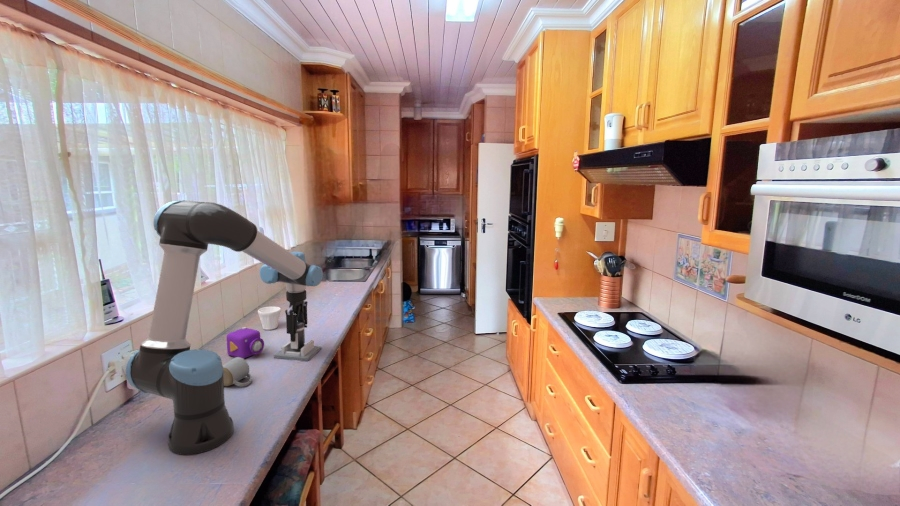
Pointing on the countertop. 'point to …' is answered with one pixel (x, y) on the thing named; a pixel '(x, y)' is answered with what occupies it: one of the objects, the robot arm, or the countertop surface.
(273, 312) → the cup
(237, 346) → the toy camera
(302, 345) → the lens
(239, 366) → the ceramic mug
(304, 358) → the mount
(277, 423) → the countertop surface
